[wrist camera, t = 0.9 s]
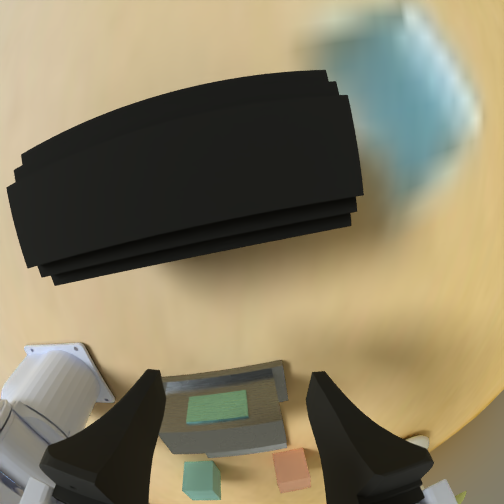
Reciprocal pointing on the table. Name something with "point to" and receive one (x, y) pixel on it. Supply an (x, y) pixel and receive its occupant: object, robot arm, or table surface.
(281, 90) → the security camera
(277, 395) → the block
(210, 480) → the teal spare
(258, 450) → the pad
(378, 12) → the table surface
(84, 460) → the robot arm
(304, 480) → the salmon pink block
